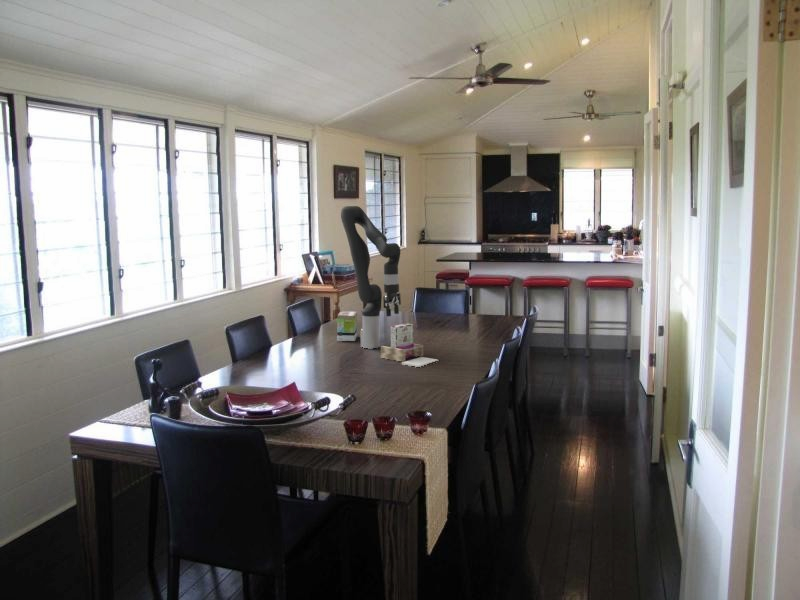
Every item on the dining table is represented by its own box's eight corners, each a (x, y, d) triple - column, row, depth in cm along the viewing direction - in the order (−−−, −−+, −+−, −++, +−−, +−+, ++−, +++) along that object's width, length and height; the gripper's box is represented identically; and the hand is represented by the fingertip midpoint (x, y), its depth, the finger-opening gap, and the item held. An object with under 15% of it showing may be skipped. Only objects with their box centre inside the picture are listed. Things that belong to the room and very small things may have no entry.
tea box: (355, 342, 373) (354, 315, 371) (336, 341, 373) (336, 315, 371) (357, 336, 388) (357, 311, 385) (339, 336, 388) (339, 310, 386)
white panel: (401, 364, 320) (401, 362, 320) (421, 358, 333) (421, 356, 333) (418, 367, 314) (418, 365, 314) (438, 361, 327) (438, 359, 327)
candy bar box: (407, 355, 341) (407, 322, 338) (413, 357, 337) (414, 324, 334) (389, 358, 334) (390, 325, 331) (396, 360, 330) (396, 326, 327)
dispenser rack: (380, 358, 334) (380, 346, 333) (400, 352, 346) (400, 341, 345) (403, 362, 325) (404, 350, 324) (423, 356, 337) (423, 345, 336)
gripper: (391, 281, 351) (392, 312, 353) (378, 284, 338) (379, 316, 340) (404, 281, 347) (405, 313, 349) (391, 284, 335) (392, 317, 337)
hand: (392, 315), depth 345 cm, fingers open, 8 cm apart
